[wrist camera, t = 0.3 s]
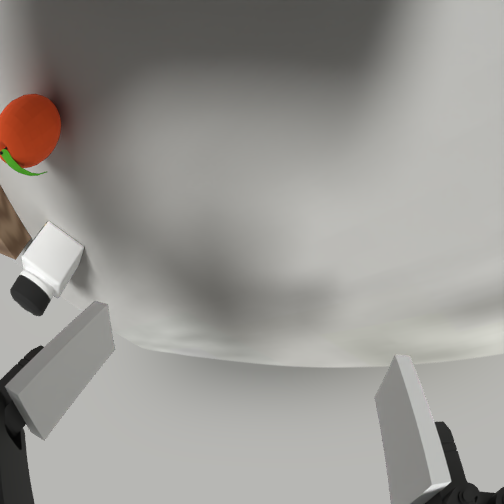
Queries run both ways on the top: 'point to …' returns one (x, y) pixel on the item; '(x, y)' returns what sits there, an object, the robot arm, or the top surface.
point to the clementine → (28, 132)
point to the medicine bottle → (46, 268)
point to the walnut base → (11, 229)
